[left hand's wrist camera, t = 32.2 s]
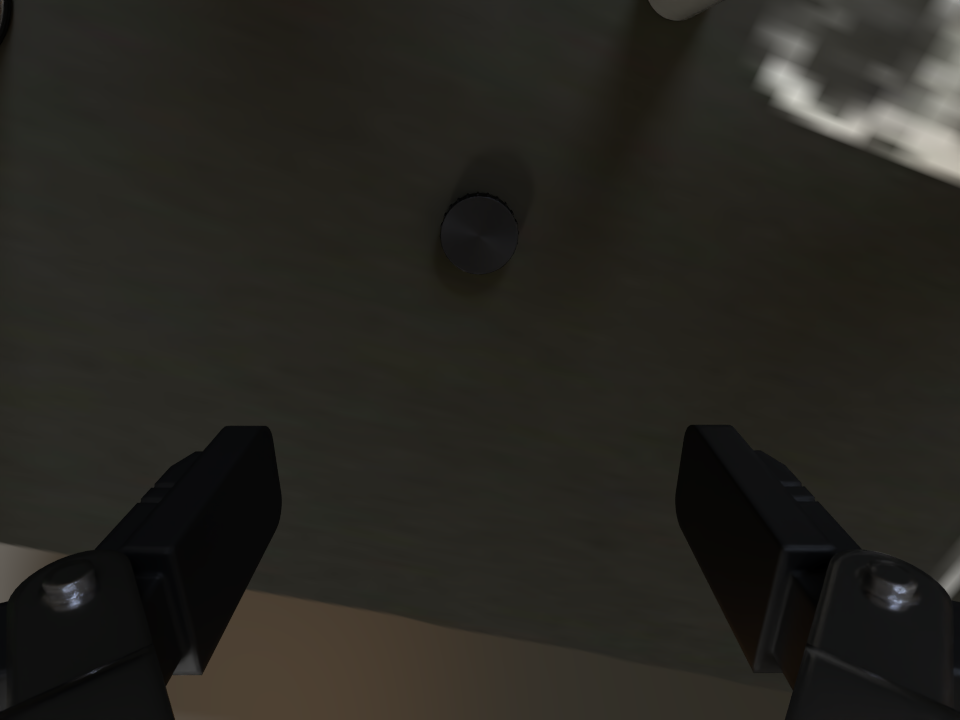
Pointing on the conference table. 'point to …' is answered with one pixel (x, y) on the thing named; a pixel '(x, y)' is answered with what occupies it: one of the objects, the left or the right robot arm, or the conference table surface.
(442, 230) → the lid
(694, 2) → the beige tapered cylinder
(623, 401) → the conference table surface
